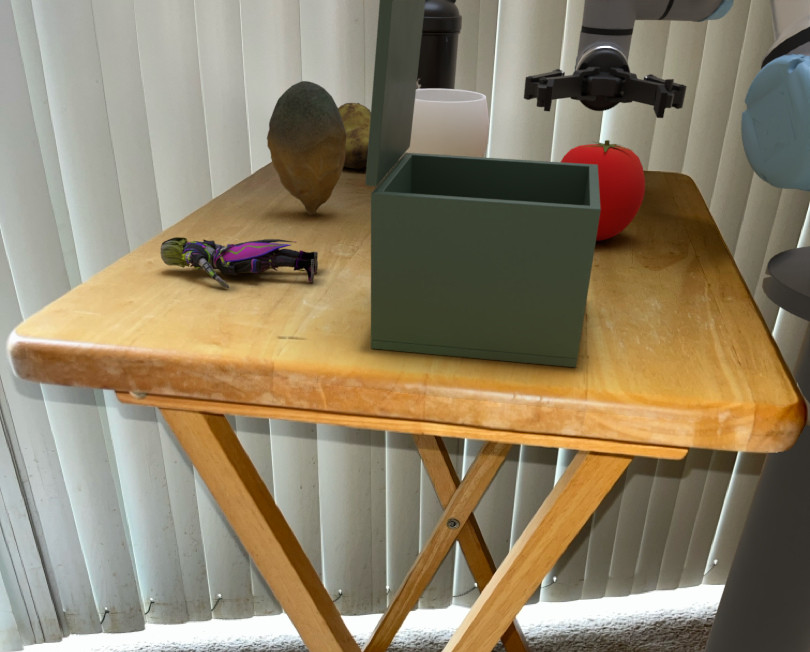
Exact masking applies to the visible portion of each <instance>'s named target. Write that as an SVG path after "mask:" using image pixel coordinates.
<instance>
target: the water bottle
mask: <svg viewBox="0 0 810 652" xmlns="http://www.w3.org/2000/svg"><path fill="white" fill-rule="evenodd" d="M456 2H457V0H425V9H424V18H423V28H422V37H421V47H420V56H419V65H418V75H417V84H416V89H455V86H456V75H457V74H456V72H457V61H458V50H459V49H458V48H459V36H460V34H461V31H462V24H463V15H461V14H460V10H459V8H458V6H457V5H456ZM398 161H399V160H398ZM398 161H397V162H398Z"/></svg>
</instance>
